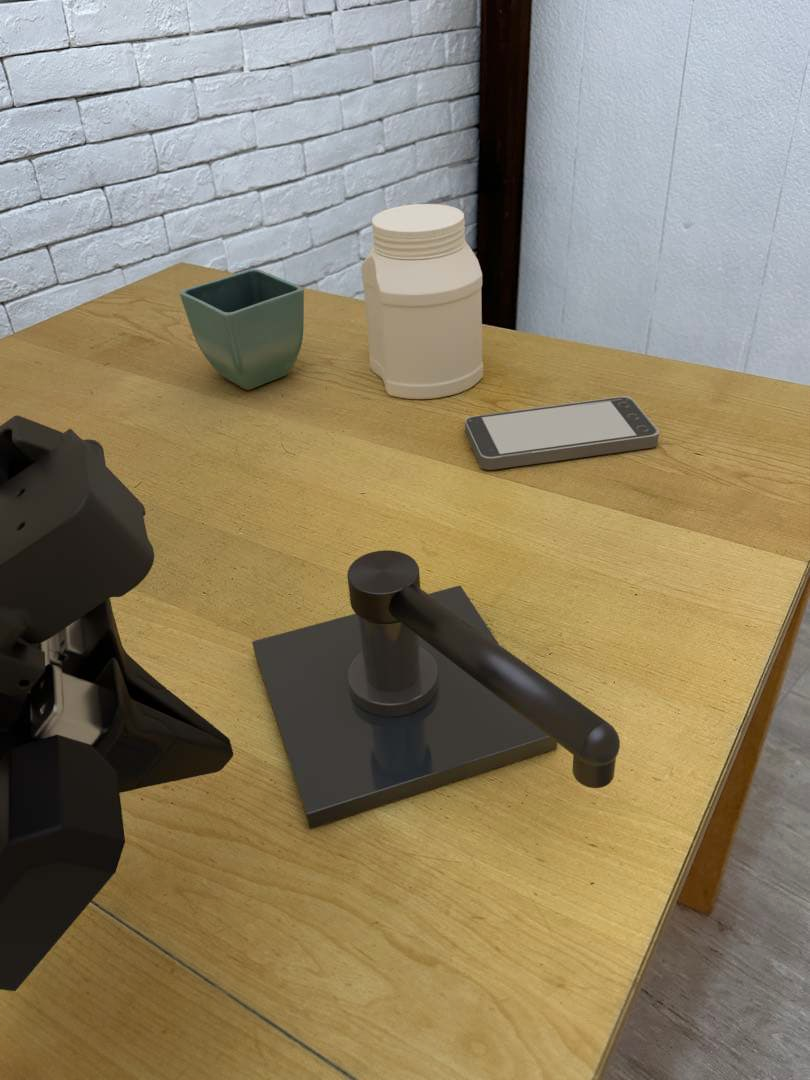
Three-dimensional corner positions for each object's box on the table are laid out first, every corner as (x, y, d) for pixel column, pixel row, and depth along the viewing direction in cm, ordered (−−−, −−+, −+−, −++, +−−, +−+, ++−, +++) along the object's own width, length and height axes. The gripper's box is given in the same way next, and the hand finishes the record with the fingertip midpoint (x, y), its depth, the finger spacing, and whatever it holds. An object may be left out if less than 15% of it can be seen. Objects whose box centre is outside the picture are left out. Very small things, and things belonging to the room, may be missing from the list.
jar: (363, 359, 92) (349, 208, 83) (451, 342, 94) (447, 193, 85) (396, 407, 83) (384, 243, 74) (493, 387, 85) (492, 226, 76)
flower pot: (317, 374, 90) (306, 286, 85) (242, 405, 85) (226, 314, 80) (267, 350, 95) (254, 266, 90) (195, 378, 91) (176, 291, 86)
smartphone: (662, 434, 74) (482, 459, 72) (660, 446, 74) (482, 471, 73) (629, 395, 80) (462, 417, 78) (628, 406, 80) (463, 428, 79)
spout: (338, 612, 50) (332, 570, 48) (392, 582, 51) (389, 541, 50) (580, 809, 38) (584, 764, 36) (639, 762, 40) (645, 717, 38)
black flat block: (309, 829, 46) (290, 732, 42) (254, 655, 57) (235, 564, 53) (557, 749, 49) (562, 651, 45) (460, 598, 60) (458, 509, 56)
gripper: (-107, 606, 18) (440, 798, 27) (-51, 294, 32) (292, 487, 41) (-349, 964, 20) (222, 1027, 29) (-196, 527, 35) (155, 660, 44)
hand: (226, 756), depth 36 cm, fingers closed
